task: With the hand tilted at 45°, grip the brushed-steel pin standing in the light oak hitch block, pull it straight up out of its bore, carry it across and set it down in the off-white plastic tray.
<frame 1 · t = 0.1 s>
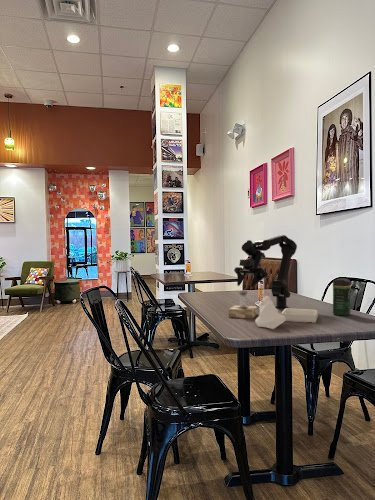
hand: (244, 286, 193), 15 cm above the table, tool tilted 35°, fingers open, 9 cm apart
steel pin: (243, 303, 190), in the hitch block
hitch block: (243, 315, 190), on the table
white tetrapod block: (269, 326, 165), on the table
coffee jar: (341, 314, 189), on the table
tray: (299, 318, 179), on the table
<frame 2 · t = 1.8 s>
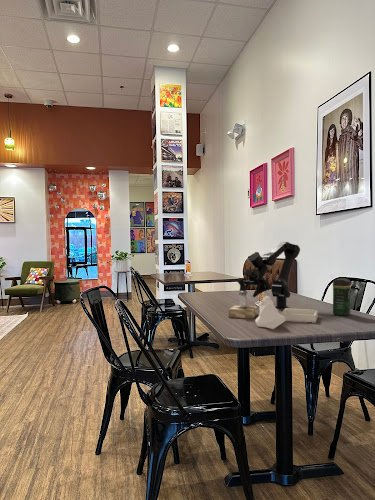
hand: (246, 295, 192), 10 cm above the table, tool tilted 45°, fingers open, 9 cm apart
nothing on the table moved.
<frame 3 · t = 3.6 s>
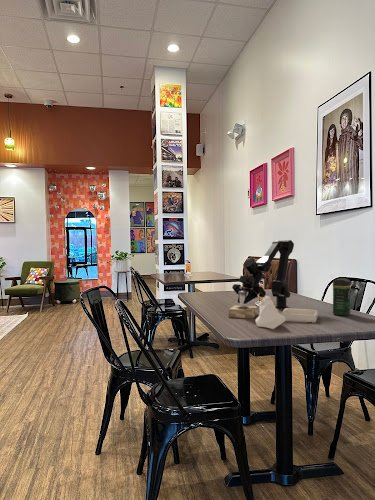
hand: (241, 303, 189), 7 cm above the table, tool tilted 45°, fingers closed on steel pin, 4 cm apart
steel pin: (243, 303, 190), in the hitch block, touching gripper
everything else where it was.
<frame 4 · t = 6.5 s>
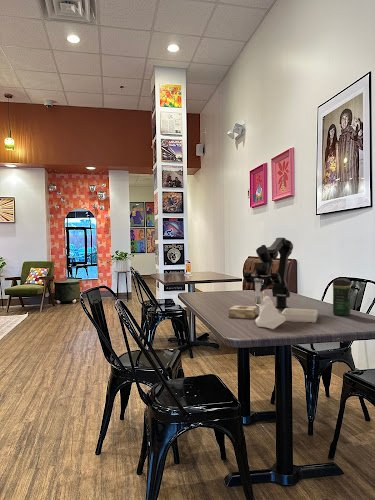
hand: (257, 290, 183), 13 cm above the table, tool tilted 45°, fingers closed on steel pin, 4 cm apart
steel pin: (258, 291, 184), point 13 cm above the table, touching gripper
everything else where it was.
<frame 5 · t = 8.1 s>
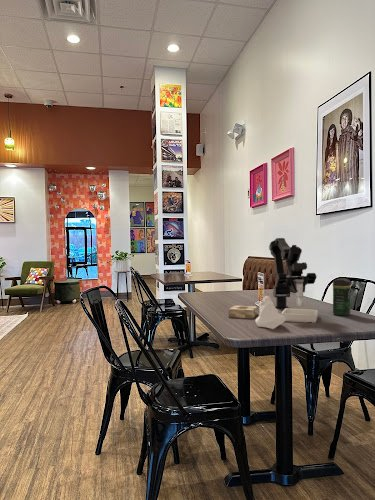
hand: (300, 292, 178), 13 cm above the table, tool tilted 45°, fingers closed on steel pin, 4 cm apart
steel pin: (299, 292, 179), point 13 cm above the table, touching gripper
everything else where it was.
when the fingers open (9 cm above the table, at t = 9.3 s): steel pin drops 1 cm, resting on tray.
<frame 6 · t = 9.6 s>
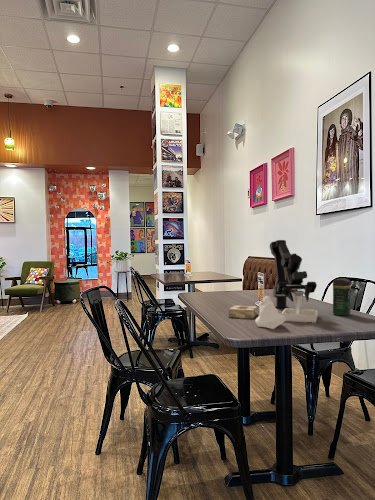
hand: (300, 301, 178), 9 cm above the table, tool tilted 45°, fingers open, 7 cm apart
steel pin: (299, 304, 179), in the tray, point 7 cm above the table
everything else where it was.
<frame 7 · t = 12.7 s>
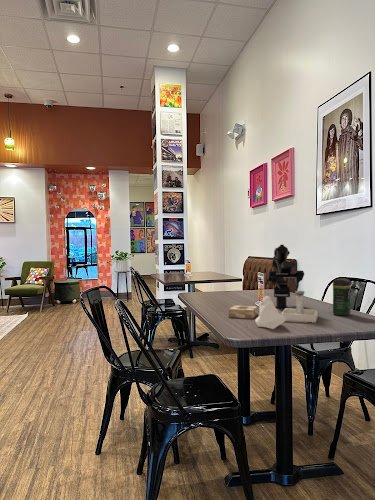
hand: (289, 288, 192), 13 cm above the table, tool tilted 45°, fingers open, 9 cm apart
nothing on the table moved.
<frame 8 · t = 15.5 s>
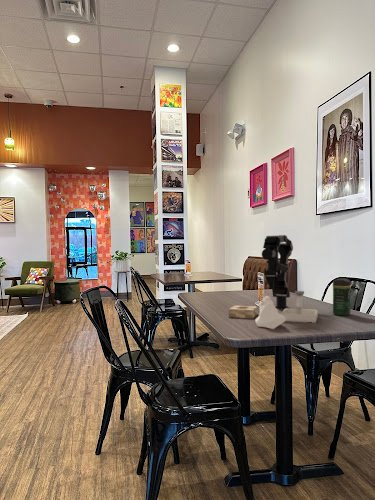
hand: (273, 287, 199), 13 cm above the table, tool pointing down, fingers open, 9 cm apart
nothing on the table moved.
at the end: steel pin inside the target area on the tray (0.0 cm from its centre), point 7.1 cm above the tray's base; the gripper is holding nothing; steel pin moved 28.0 cm from its start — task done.
